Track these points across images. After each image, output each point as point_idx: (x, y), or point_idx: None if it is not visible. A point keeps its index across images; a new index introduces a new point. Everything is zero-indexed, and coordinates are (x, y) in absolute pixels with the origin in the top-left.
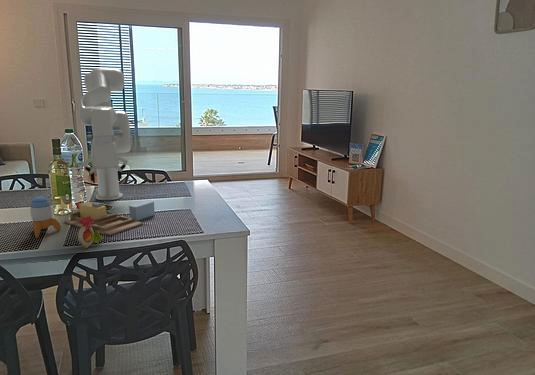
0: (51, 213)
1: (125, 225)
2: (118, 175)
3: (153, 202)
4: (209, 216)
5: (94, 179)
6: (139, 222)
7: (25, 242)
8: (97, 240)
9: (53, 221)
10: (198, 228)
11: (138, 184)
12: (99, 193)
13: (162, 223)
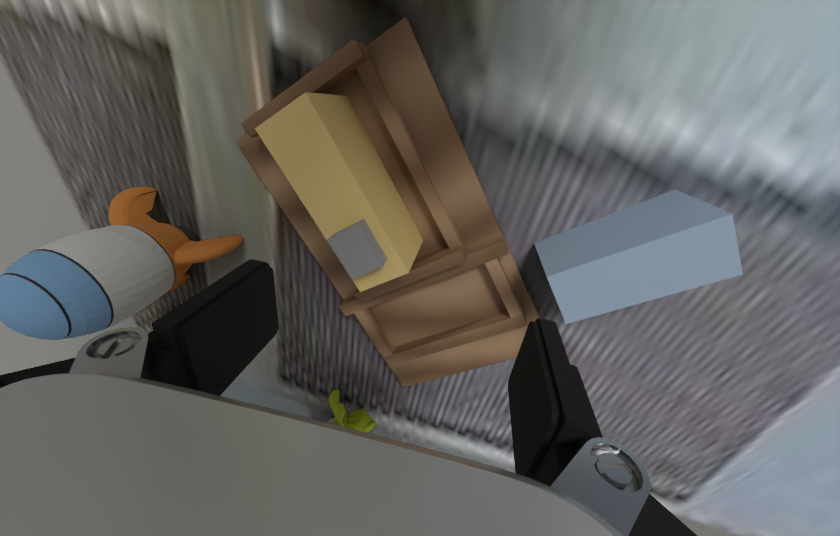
0: (158, 287)
1: (476, 341)
2: (518, 446)
3: (734, 273)
4: None
5: (252, 356)
6: None
7: (168, 299)
8: (361, 415)
9: (194, 262)
10: (702, 472)
11: None
12: None
13: (628, 369)
